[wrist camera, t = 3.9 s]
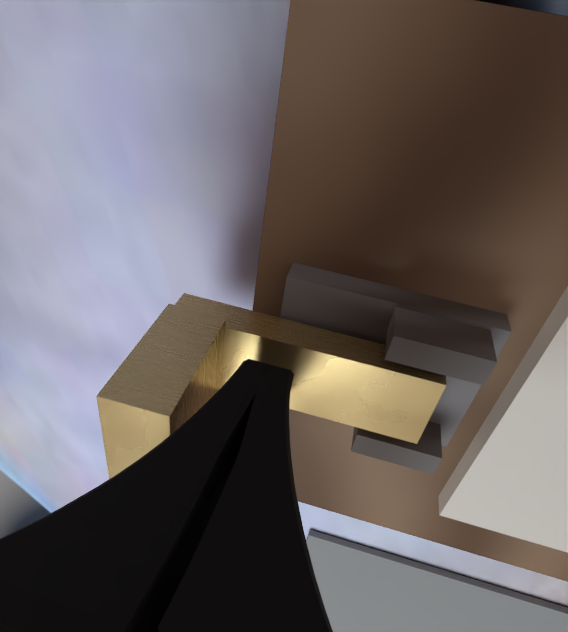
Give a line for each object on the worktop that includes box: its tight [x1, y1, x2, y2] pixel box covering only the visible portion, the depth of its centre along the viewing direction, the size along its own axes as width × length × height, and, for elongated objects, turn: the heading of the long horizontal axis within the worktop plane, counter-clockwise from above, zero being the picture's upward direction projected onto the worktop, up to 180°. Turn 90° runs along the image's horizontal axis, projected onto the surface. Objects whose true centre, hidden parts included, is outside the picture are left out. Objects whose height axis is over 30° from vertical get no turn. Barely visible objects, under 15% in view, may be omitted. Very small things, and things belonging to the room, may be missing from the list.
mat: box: [306, 530, 568, 632], centre depth 26 cm, size 14×14×1 cm
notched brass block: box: [97, 293, 446, 479], centre depth 12 cm, size 8×3×4 cm, turn 82°
